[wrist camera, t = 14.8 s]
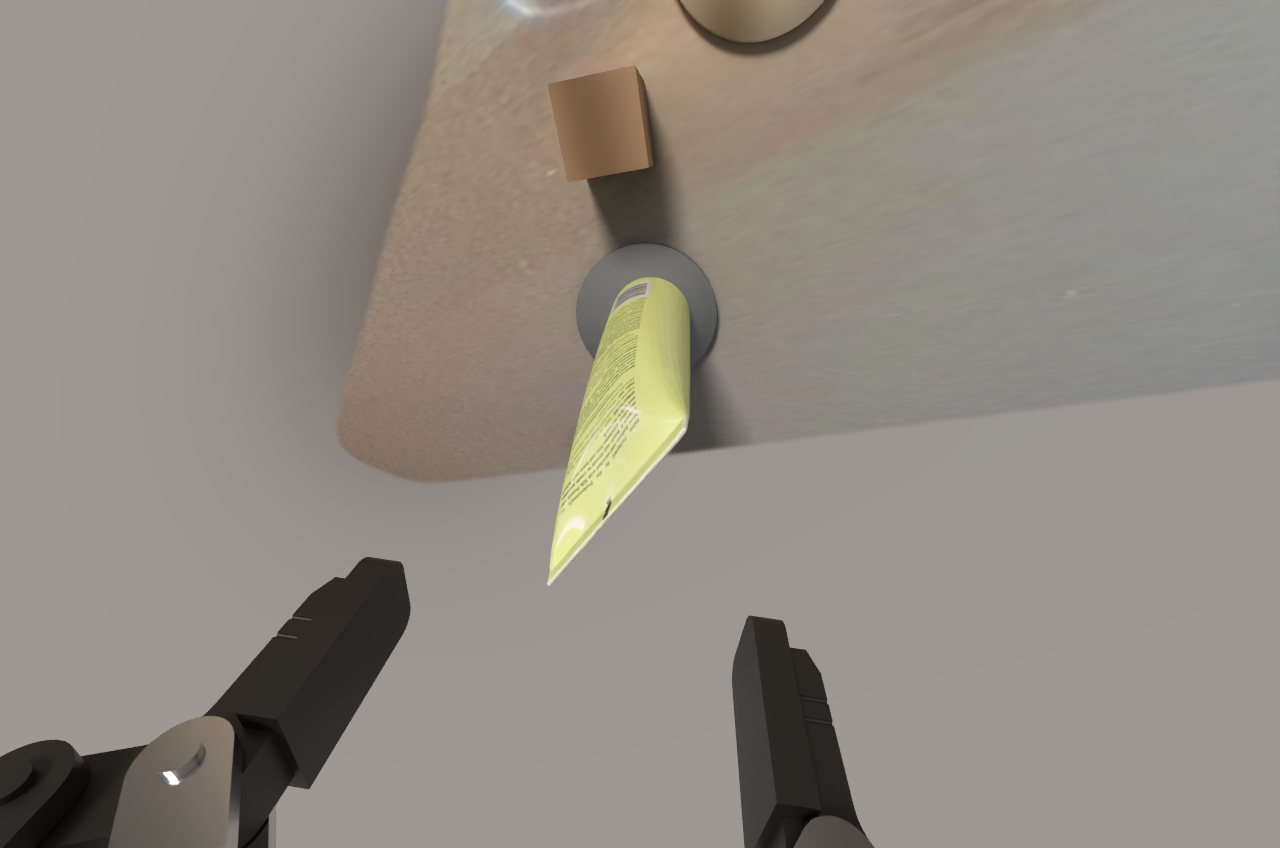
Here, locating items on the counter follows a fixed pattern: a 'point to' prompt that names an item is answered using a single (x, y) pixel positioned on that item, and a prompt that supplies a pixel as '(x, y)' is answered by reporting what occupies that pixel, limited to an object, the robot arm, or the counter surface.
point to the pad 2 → (750, 17)
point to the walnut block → (602, 123)
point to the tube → (626, 411)
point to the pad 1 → (641, 264)
